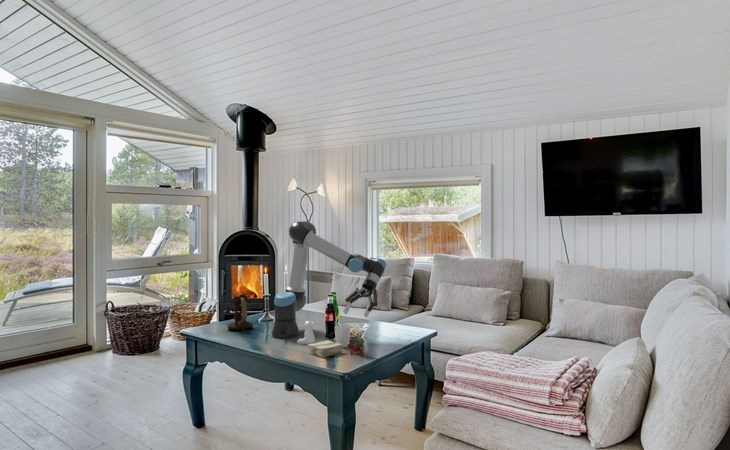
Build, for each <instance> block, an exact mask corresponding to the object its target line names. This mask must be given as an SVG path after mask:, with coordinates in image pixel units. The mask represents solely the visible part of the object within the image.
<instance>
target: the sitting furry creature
mask: <svg viewBox="0 0 730 450" xmlns="http://www.w3.org/2000/svg"><path fill="white" fill-rule="evenodd" d="M314 325H315V321H311V320H307V321H305V323H304V324H303V329H304V333H303V334H304V335H303V336H304V337H303V338H299V339H297V340H296V343H297V344H299V345H307V346H308V344H312V343H316V337H315V335H314V331H313V326H314Z"/></svg>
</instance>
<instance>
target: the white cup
mask: <svg viewBox="0 0 730 450" xmlns="http://www.w3.org/2000/svg"><path fill="white" fill-rule="evenodd" d="M334 335H335V342H336V343H339V344H342V346H341V349H342V348H348V347H349V346H347V344H350V341H351V338H350V337H351V325H349V324H338V325H334Z"/></svg>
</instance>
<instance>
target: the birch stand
mask: <svg viewBox="0 0 730 450" xmlns="http://www.w3.org/2000/svg"><path fill="white" fill-rule="evenodd" d="M341 346H342V344H339V343H336V341H332V340H328V339H325V340H321V341H317V342H316V341H315V342H314V343H312V344H308V345H307V347H308V352H309V354H312V355H314V356H318V357H320V358H327V357H329V356H333V355H338V354H341V353H342V348H341Z"/></svg>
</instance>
